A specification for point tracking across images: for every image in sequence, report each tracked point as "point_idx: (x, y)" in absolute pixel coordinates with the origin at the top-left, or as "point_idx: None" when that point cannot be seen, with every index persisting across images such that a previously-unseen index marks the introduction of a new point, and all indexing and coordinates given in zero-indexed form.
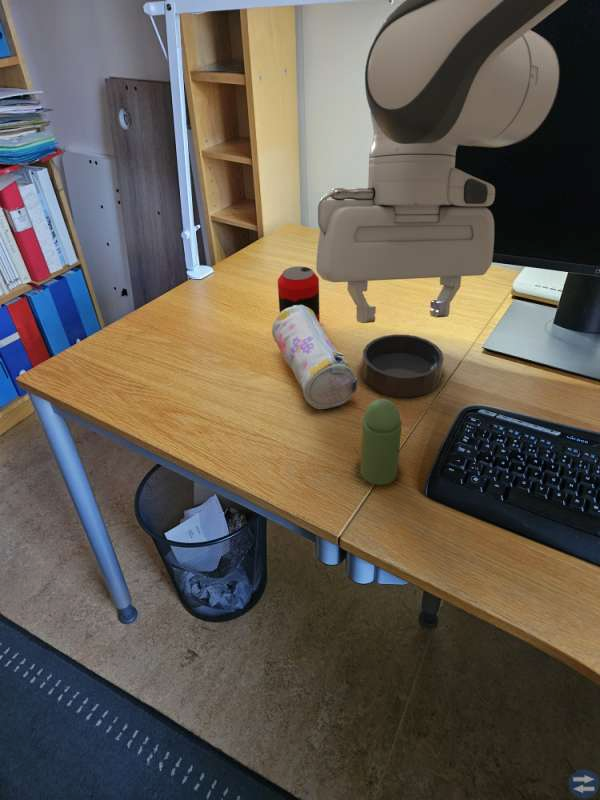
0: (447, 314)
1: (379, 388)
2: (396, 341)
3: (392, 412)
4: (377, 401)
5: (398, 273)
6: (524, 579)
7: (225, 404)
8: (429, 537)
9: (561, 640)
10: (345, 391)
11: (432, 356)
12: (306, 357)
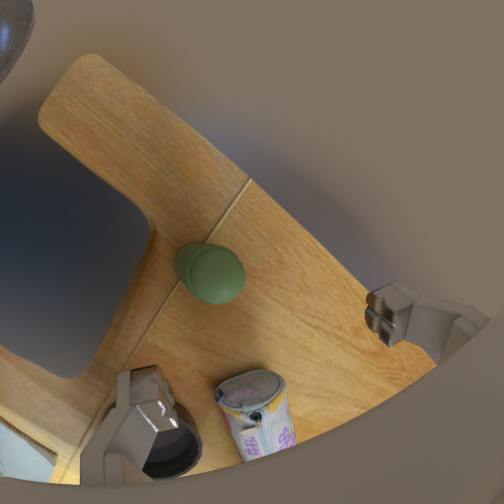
0: (122, 373)
1: (178, 406)
2: (156, 473)
3: (211, 263)
4: (233, 287)
5: (427, 395)
6: (93, 109)
7: (338, 369)
8: (161, 162)
9: (97, 60)
10: (229, 388)
11: None
12: (287, 420)
